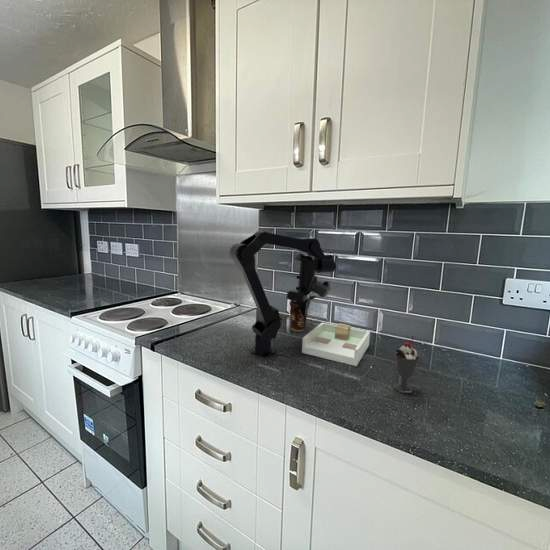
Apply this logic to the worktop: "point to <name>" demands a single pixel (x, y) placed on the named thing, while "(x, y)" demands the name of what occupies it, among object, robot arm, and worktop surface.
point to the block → (342, 331)
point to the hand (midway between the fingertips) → (303, 315)
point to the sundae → (406, 363)
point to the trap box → (336, 344)
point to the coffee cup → (297, 317)
